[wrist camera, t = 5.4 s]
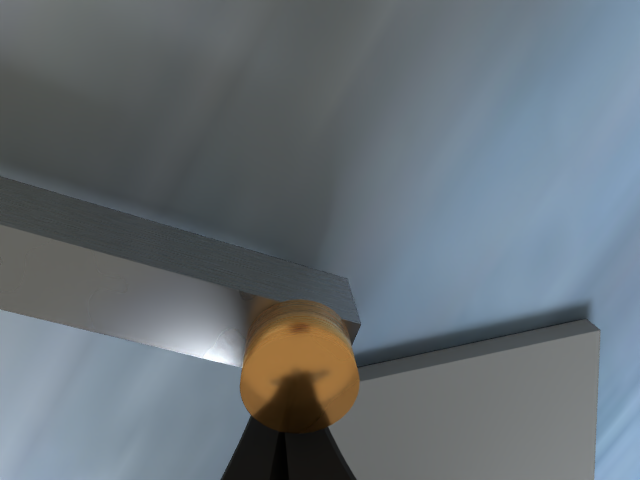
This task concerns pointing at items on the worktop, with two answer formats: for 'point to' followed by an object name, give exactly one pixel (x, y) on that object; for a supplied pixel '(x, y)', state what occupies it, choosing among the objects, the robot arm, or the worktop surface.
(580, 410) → the pad
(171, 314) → the grey long bar
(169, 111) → the worktop surface
